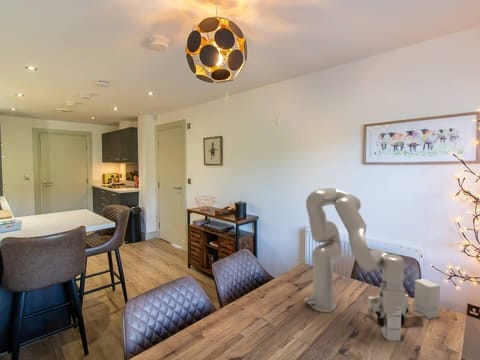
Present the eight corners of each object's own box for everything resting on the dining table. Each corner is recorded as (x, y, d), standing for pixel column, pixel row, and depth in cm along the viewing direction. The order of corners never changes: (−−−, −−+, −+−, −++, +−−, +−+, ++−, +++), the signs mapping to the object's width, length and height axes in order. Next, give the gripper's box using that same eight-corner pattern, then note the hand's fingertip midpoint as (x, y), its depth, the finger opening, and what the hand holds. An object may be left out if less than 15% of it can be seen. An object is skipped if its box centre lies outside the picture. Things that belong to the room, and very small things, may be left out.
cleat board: (382, 328, 116) (383, 309, 116) (367, 314, 127) (368, 296, 126) (422, 325, 119) (424, 306, 118) (405, 311, 129) (406, 294, 129)
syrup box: (400, 340, 109) (402, 307, 107) (386, 340, 109) (387, 307, 108) (393, 331, 114) (394, 299, 113) (379, 331, 114) (380, 299, 113)
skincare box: (439, 317, 125) (441, 285, 124) (427, 319, 123) (429, 287, 122) (423, 307, 133) (425, 277, 132) (412, 309, 132) (414, 279, 130)
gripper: (379, 290, 105) (377, 331, 106) (418, 287, 107) (416, 328, 108) (367, 282, 112) (366, 320, 114) (404, 279, 115) (402, 317, 116)
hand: (390, 324), depth 111 cm, fingers open, 8 cm apart
